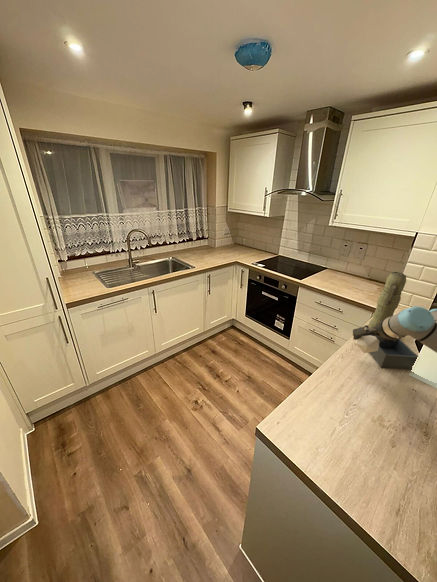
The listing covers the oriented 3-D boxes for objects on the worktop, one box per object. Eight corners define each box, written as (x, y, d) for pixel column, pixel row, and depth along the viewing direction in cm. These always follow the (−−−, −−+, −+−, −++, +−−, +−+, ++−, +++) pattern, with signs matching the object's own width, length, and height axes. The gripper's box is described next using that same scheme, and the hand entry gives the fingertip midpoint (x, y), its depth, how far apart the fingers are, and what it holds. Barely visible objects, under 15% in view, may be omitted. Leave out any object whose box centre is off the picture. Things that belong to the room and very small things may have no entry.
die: (362, 342, 109) (353, 327, 106) (384, 342, 102) (376, 326, 99) (359, 357, 104) (349, 341, 101) (382, 358, 97) (372, 341, 94)
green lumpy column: (385, 330, 131) (409, 272, 116) (385, 341, 122) (411, 279, 107) (367, 325, 135) (388, 268, 120) (366, 335, 126) (388, 275, 111)
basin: (393, 348, 117) (398, 337, 114) (413, 369, 104) (419, 357, 101) (364, 346, 117) (369, 335, 114) (380, 367, 104) (385, 355, 102)
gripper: (360, 333, 85) (339, 342, 106) (429, 343, 80) (393, 351, 101) (360, 313, 87) (340, 326, 108) (426, 322, 83) (392, 333, 104)
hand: (365, 338), depth 105 cm, fingers closed on die, 9 cm apart
